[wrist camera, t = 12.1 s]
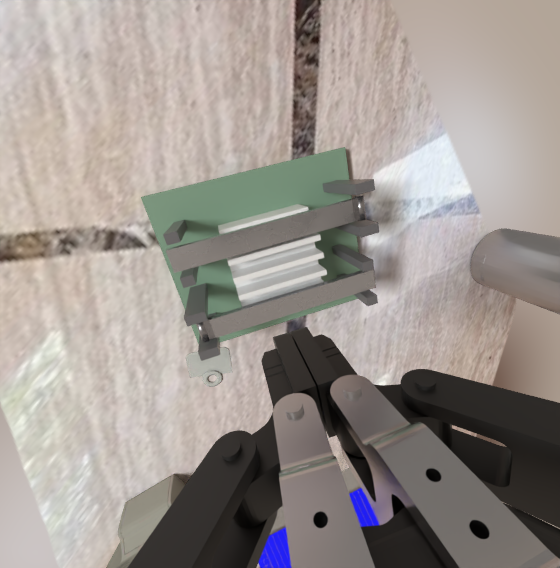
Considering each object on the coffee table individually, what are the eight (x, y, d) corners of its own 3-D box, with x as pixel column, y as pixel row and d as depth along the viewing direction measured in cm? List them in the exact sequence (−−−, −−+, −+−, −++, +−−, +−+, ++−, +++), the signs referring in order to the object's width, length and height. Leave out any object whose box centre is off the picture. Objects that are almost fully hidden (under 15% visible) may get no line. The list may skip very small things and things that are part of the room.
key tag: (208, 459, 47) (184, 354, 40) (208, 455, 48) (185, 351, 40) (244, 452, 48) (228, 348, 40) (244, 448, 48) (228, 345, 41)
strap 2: (369, 266, 33) (373, 268, 32) (372, 285, 34) (376, 288, 33) (195, 319, 30) (194, 323, 30) (202, 339, 31) (202, 343, 30)
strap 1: (360, 194, 30) (365, 195, 29) (363, 217, 31) (368, 218, 30) (166, 247, 27) (165, 250, 26) (175, 271, 28) (174, 274, 27)
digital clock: (128, 535, 48) (107, 625, 39) (100, 502, 45) (70, 592, 35) (221, 495, 50) (224, 572, 40) (202, 461, 47) (200, 535, 37)
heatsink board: (341, 148, 36) (384, 137, 27) (361, 293, 43) (400, 323, 34) (142, 196, 32) (117, 202, 24) (200, 344, 40) (197, 391, 31)
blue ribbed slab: (248, 516, 54) (255, 585, 45) (368, 454, 55) (399, 508, 46) (284, 564, 61) (297, 632, 52) (389, 508, 63) (420, 564, 53)
